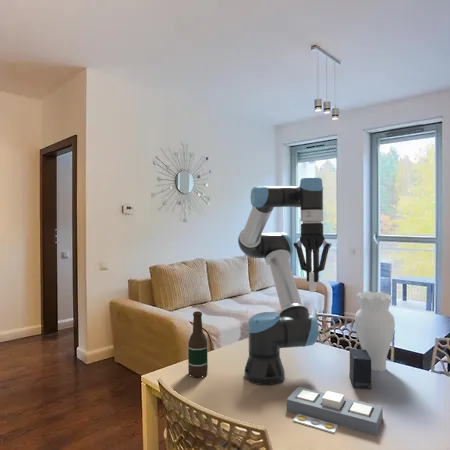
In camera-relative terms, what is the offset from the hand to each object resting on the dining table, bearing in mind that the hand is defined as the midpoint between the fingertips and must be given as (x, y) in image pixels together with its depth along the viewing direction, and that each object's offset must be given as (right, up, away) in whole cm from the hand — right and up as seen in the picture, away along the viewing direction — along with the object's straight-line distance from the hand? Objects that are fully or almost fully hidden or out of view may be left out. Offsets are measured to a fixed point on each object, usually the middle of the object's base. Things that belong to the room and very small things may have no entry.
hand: (312, 291), depth 125 cm
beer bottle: (-41, -35, +16) cm, 56 cm away
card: (-4, -35, -20) cm, 40 cm away
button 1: (-4, -33, -11) cm, 35 cm away
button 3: (+9, -33, -20) cm, 39 cm away
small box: (+19, -34, +6) cm, 40 cm away
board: (+3, -35, -15) cm, 38 cm away
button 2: (+3, -31, -15) cm, 35 cm away
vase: (+30, -34, +20) cm, 49 cm away
